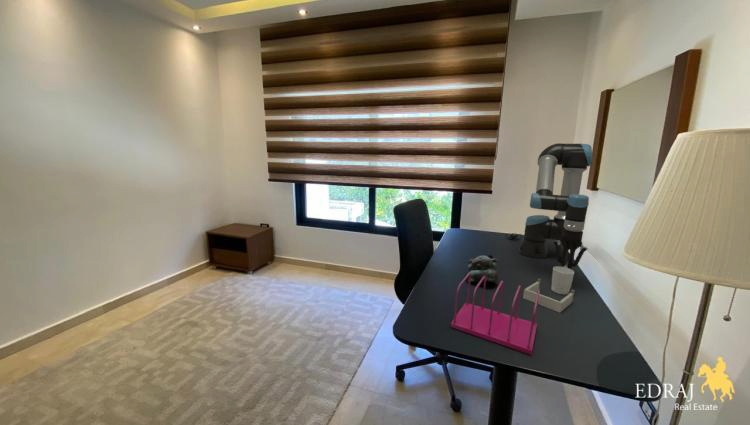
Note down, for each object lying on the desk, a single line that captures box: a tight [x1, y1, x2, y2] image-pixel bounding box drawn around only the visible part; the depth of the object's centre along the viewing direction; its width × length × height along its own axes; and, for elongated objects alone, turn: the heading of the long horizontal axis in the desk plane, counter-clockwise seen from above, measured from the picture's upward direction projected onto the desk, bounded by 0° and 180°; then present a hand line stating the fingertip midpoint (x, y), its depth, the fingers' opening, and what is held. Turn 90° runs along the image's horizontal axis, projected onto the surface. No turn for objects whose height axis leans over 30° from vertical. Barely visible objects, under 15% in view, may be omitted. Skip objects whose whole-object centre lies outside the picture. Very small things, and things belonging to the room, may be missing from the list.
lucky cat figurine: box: [465, 254, 499, 283], centre depth 138 cm, size 15×12×14 cm
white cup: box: [550, 266, 575, 296], centre depth 130 cm, size 8×8×10 cm
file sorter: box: [450, 273, 541, 356], centre depth 101 cm, size 17×25×16 cm
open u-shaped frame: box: [522, 278, 576, 313], centre depth 122 cm, size 14×14×5 cm
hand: (564, 278), depth 136 cm, fingers closed
